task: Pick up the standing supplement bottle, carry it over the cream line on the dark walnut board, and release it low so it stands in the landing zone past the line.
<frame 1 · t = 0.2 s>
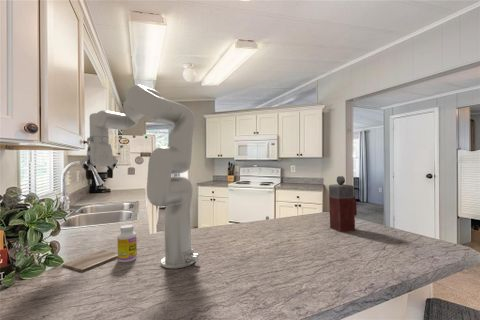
hand: (100, 178, 111), 31 cm above the counter, tool pointing down, fingers open, 9 cm apart
supplement bottle: (127, 260, 94), on the counter
red canister: (344, 229, 129), on the counter
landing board: (94, 261, 94), on the counter
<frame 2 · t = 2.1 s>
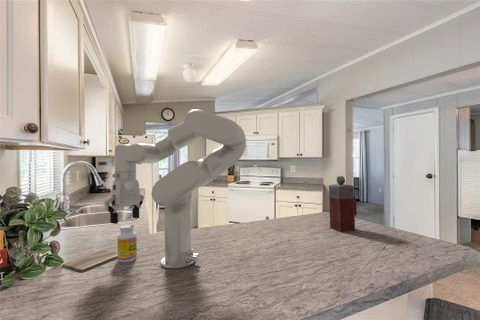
hand: (125, 220, 95), 15 cm above the counter, tool pointing down, fingers open, 9 cm apart
nothing on the counter moved.
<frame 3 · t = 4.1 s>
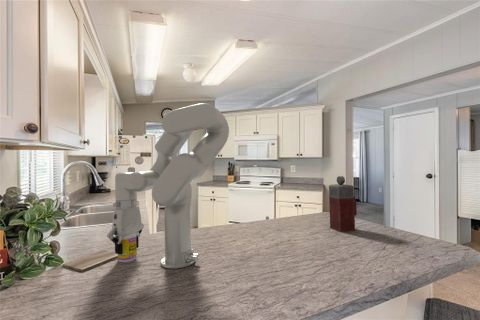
hand: (127, 250, 94), 4 cm above the counter, tool pointing down, fingers closed on supplement bottle, 6 cm apart
supplement bottle: (127, 260, 94), on the counter, touching gripper
everything else where it was.
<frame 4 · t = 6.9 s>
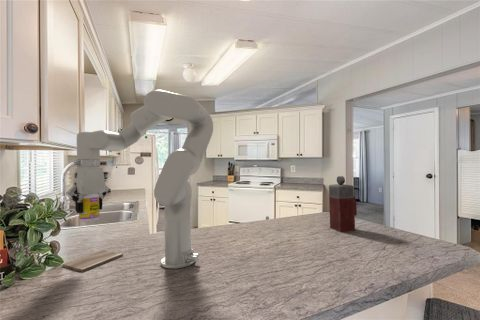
hand: (89, 210, 94), 19 cm above the counter, tool pointing down, fingers closed on supplement bottle, 6 cm apart
supplement bottle: (89, 220, 94), point 16 cm above the counter, touching gripper
everything else where it was.
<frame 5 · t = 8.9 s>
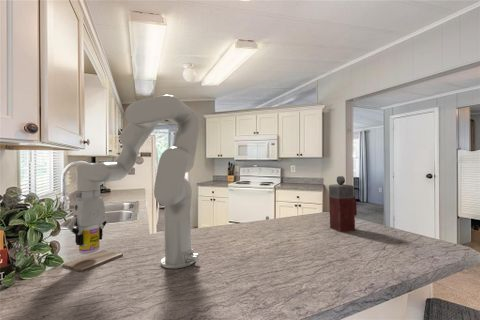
hand: (89, 241, 94), 8 cm above the counter, tool pointing down, fingers closed on supplement bottle, 6 cm apart
supplement bottle: (89, 251, 93), point 4 cm above the counter, touching gripper
everything else where it was.
when the fingers open (6 cm above the counter, at t = 10.2 s): supplement bottle drops 2 cm, resting on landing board.
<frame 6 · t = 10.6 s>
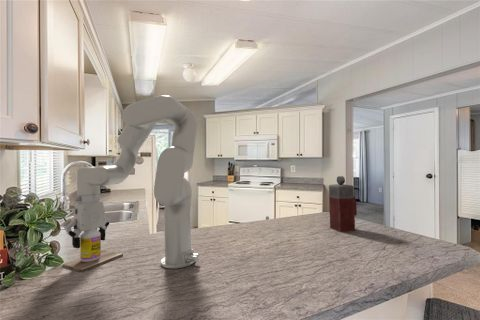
hand: (89, 243, 94), 7 cm above the counter, tool pointing down, fingers open, 9 cm apart
supplement bottle: (90, 259, 94), point 1 cm above the counter, touching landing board
everything else where it was.
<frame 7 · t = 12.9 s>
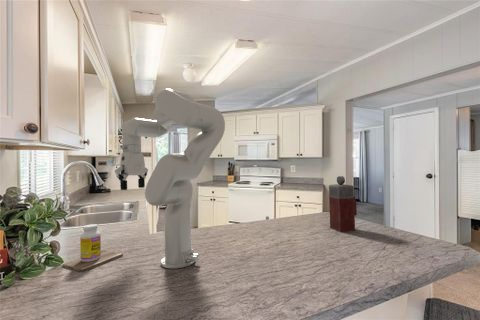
hand: (133, 188, 107), 26 cm above the counter, tool pointing down, fingers open, 9 cm apart
nothing on the counter moved.
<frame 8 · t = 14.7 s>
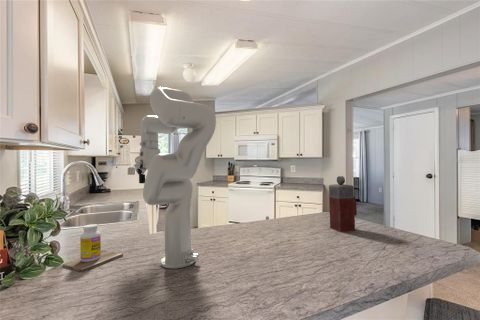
hand: (150, 182, 114), 28 cm above the counter, tool pointing down, fingers open, 9 cm apart
nothing on the counter moved.
at the end: supplement bottle inside the target area (1.5 cm from its centre), point 0.6 cm above the counter; supplement bottle tilted 0°; the gripper is holding nothing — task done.
